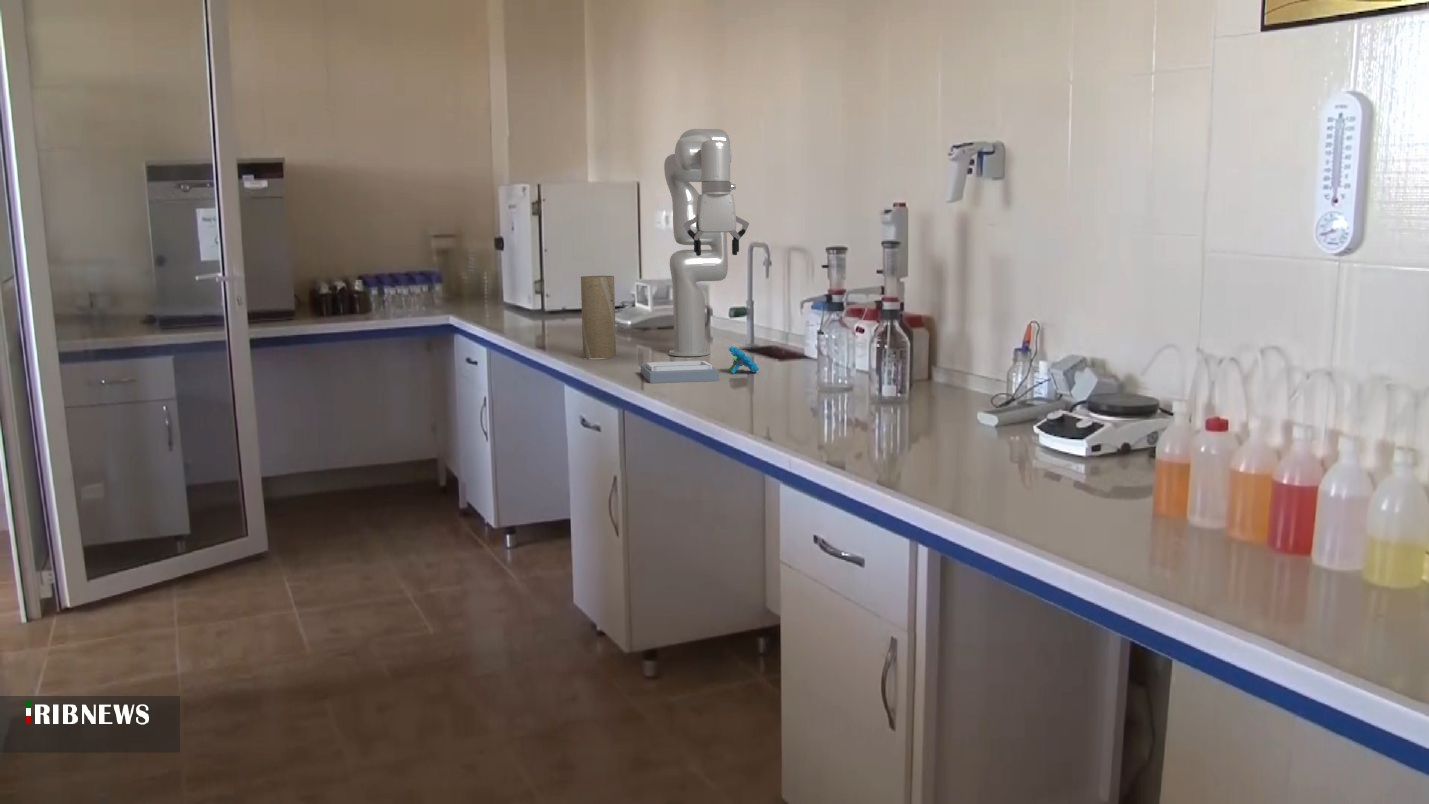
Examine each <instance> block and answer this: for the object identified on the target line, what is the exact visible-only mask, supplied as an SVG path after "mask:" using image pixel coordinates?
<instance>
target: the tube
mask: <svg viewBox="0 0 1429 804" xmlns="http://www.w3.org/2000/svg"><path fill="white" fill-rule="evenodd" d="M615 294H616V293H615V275H584V276H583V275H582V276H580V296H581V298H580V299H581V328H582V332H581V333H582V358H583V357H584V358H610V359H614V358H613V357H615V356H616V357H617V349H616V348H617V346H616V345H617V344H616V343H617V341H616V340H617V337H616V304H615V303H616V302H615V301H616V300H615V299H616V298H615V296H616V295H615ZM616 357H615V358H616ZM584 358H583V359H584Z"/></svg>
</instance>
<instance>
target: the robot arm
mask: <svg viewBox="0 0 1429 804" xmlns="http://www.w3.org/2000/svg"><path fill="white" fill-rule="evenodd" d="M731 162H732V150H731V140H730V137H729V135H728V132H726V131H725V130H724V129H720V128H708V129H707V128H693V129H692V128H691V129H687V130H686V131H684V132H682V134H681V135H680V137H679V139H678V140H677V142H676V144H675V148H674V153H672V154H669V155H668V156H667V157H665V160H664V164H663V165H664V166H663V167H664V169H663V170H664V177H665V181H666V184H667V187H668V190H669V193H670V196H671V200H672V225H673V226H672V227H673V228H672V230H673V237H674V240H675V242H676V244H679V245H683V246H693V249H681V250H677V251H675V252H673V253H672V254H671V255H670V258H669V271H670V275H671V276H670V277H671V282H672V298H673V299H672V300H673V301H672V302H673V303H672V304H673V310H672V311H673V349H670V350H669V351H668V355H669V356H673V357H702V356H703V357H704V356H709V355H710V354H711V350H710V349H706V303H705V302H706V301H705V299H706V298H705V294H704V292H703V291H702V289H700V287H699V286H698V285H697V282H720V281H723V280H725V279H726V278H727V275H728V272H729V271H728V270H729V260H728V258H729V257H728V234H727V233H729V234H730V235H731V236H732V237H733V239H732V240H731V255H732V256H737V255H738V253H739V251H740V239H741V238H742V237H743V236H744V235H745V234H746V233H747V232H746V231H747V230H748V227H749V225H750V223H749V222H748V221H747V220H744V219H743V218H740V217H739V216H737V215H736V214H737V213H736V204H735V198H734V194H733V193H731V192H732V191H734V190H736V188H737V187H736V186H737V185H736V184H733V183H732V181H731ZM692 183H700V184H701V194H700V193H699V192H698V191H697V189H696V188H695V186H693V185H692ZM737 224H740V225H741V229H740V230H739V231H738V232H737ZM701 246H710V248H711V249H702V247H701Z"/></svg>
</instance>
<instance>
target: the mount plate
mask: <svg viewBox="0 0 1429 804" xmlns="http://www.w3.org/2000/svg"><path fill="white" fill-rule="evenodd" d="M640 374H641V375H642V376H643V377H644V378H645V380H647V382H648V383H650V384H660V383H661V384H663V383H664V384H665V383H689V382H690V383H691V382H692V383H693V382H697V383H698V382H719V381H720V370H718V369H716V368H715V367H714V366H713V365H712V364H710V363H709V362H708V361H706V360H687V361H685V360H684V361H682V360H681V361H654V362H653V361H652V362H650V361H649V362H645V364H644V363H643V364H640Z"/></svg>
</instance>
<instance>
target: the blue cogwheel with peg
mask: <svg viewBox="0 0 1429 804" xmlns="http://www.w3.org/2000/svg"><path fill="white" fill-rule="evenodd" d="M728 351H729V352H731V353H730V354H731V355H732V356H734V357H733V358H732V360H733V361H732V363H733V364H732V365H731V366H730V367H729V368H728V371H729V372H730V373H732V374H733V375H734V374H735V373H736V372H737V371H738V370H739V368H740V367H742V366H744V367H745V368H748V370H750V371H754V372H755V373H757V372H758V371H759V370H760V369H759V366H757V364H756V362H754V361H752V358H751V357H750V356H747V355H746V353H745V352H743V350H741V351H740V350H739V348H737V347H736V346H735V347H734V346H733V345H731V346H729V348H728Z"/></svg>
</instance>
